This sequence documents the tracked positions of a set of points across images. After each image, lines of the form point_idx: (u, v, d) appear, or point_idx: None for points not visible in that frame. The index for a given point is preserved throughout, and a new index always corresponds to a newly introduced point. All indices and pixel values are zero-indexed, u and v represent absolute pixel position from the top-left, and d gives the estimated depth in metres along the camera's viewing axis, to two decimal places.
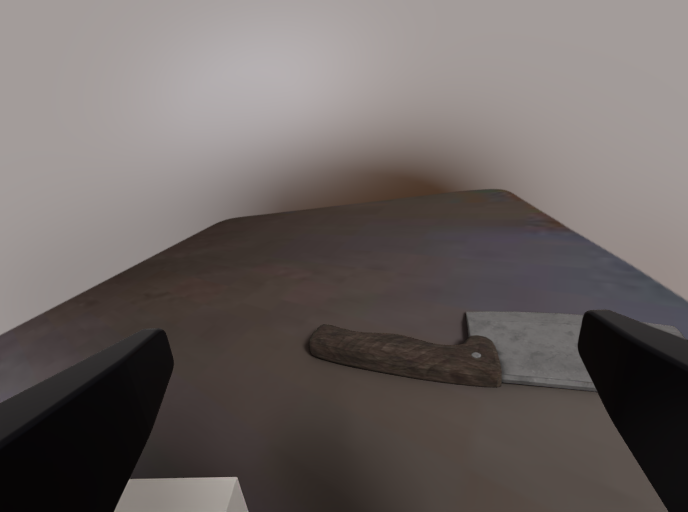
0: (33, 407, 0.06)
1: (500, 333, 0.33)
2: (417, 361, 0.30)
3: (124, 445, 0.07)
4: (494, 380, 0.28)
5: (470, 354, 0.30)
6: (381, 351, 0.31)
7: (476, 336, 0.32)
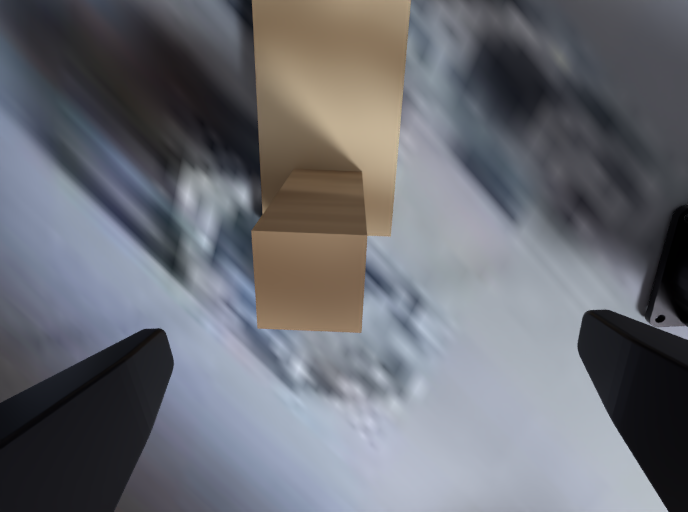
0: (33, 407, 0.06)
1: None
2: None
3: (124, 445, 0.07)
4: None
5: None
6: None
7: None
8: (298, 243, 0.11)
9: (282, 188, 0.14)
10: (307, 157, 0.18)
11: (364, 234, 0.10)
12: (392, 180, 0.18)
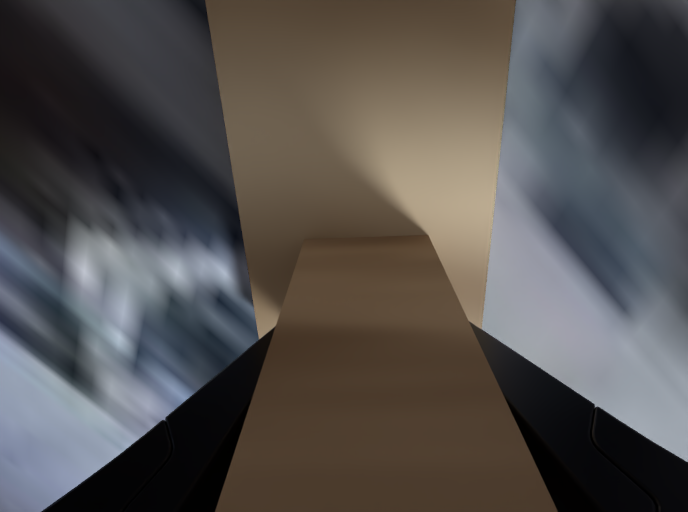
0: (231, 401, 0.06)
1: None
2: None
3: None
4: None
5: None
6: None
7: None
8: None
9: (282, 317, 0.07)
10: (327, 218, 0.10)
11: None
12: (485, 246, 0.10)
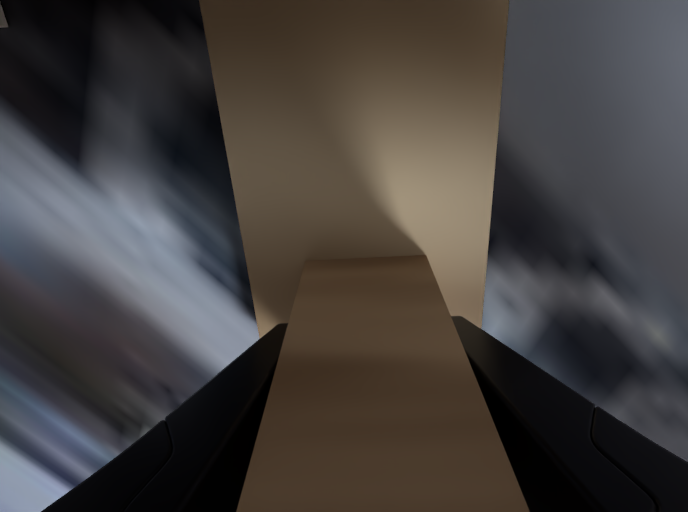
0: (231, 401, 0.06)
1: None
2: None
3: None
4: None
5: None
6: None
7: None
8: None
9: (285, 346, 0.07)
10: (327, 240, 0.10)
11: None
12: (481, 265, 0.10)
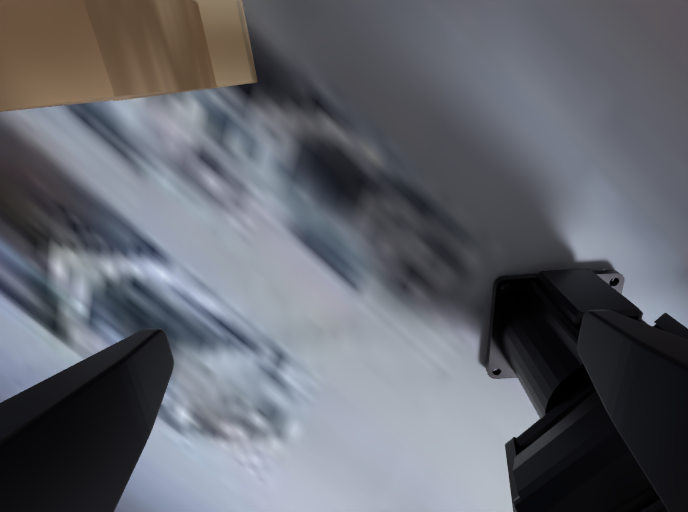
0: (33, 407, 0.06)
1: None
2: None
3: (124, 445, 0.07)
4: None
5: None
6: None
7: None
8: None
9: None
10: None
11: None
12: (234, 8, 0.15)
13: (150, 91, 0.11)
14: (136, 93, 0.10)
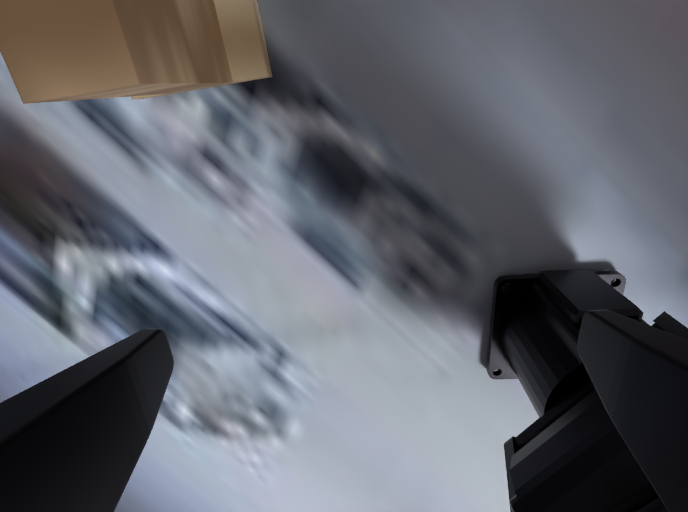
0: (33, 407, 0.06)
1: None
2: None
3: (124, 445, 0.07)
4: None
5: None
6: None
7: None
8: None
9: None
10: None
11: None
12: (249, 3, 0.16)
13: (171, 81, 0.11)
14: (159, 82, 0.11)
